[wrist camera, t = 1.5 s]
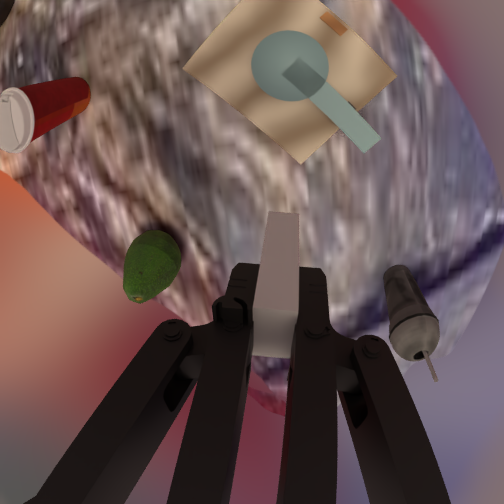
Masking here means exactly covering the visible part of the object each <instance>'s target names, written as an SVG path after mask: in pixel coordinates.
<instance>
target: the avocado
mask: <svg viewBox="0 0 504 504" xmlns="http://www.w3.org/2000/svg"><path fill="white" fill-rule="evenodd" d="M180 267H181V253H180V250H179V247H178V245H177V243H176V242H175V241H174V239H173V238H172V237H171V236H170V235H169V234H168V233H165V232H163V231H160V230H148V231H146V232H145V233H143V234H142V235H140V236H138V237H137V238H136V239H135V240H134V241H133V242H132V244H131V245H130V247H129V249H128V251H127V254H126V257H125V263H124V277H123V289H124V291H125V293H126V294H127V296H128V298H129V300H131V301H133V302H137V303H143V302H146V301H147V300H149V299H151V298H153V297H155V296H156V295H157V294H159V293H160V292H162V291H163V290H164V289H166V288H167V287H169V286H170V284H171V283H172V281H173V280H174V278H175V277H176V275H177V273H178V271H179V269H180Z"/></svg>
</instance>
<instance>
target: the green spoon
mask: <svg viewBox="0 0 504 504" xmlns="http://www.w3.org/2000/svg"><path fill="white" fill-rule="evenodd" d="M251 69H252V74H253V77H254V79H255V81H256V83H257V84H258V85H259V87H260V88H261V89H262V90H263V91H264V92H266V93H267V94H268V95H270V96H272V97H274V98H276V99H279V100H283V101H300V100H304V99H307V98H309V99H310V100H311V101H312V102H313V103H314V104H315V105H316V106H317V107H318V108H319V109H320V110H321V111H323V112H324V113H325V114H326V115H327V116H328V117H329V118H330V119H331V120H332V121H333V122H334V123H335V124H336V125H337V126H338V127H339V128H340V129H341V130H342V131H343V132H344V133H345V134H346V135H347V136H348V137H349V138H350V139H351V140H352V141H353V142H354V144H355V145H356V146H357V147H358V148H359V149H360V150H361V151H362V152H363V153H365V152H366V151H368V150H369V149H370V148H371V147H372V146H373V145H374V144H375V143H377V142H378V141H379V140H380V139H381V138H380V136H379V135H378V134H377V133H376V132H375V131H374V130H373V129H372V127H371V126H370V125H369V124H368V123H367V122H366V121H365V120H364V119H363V118H362V117H361V115H360V114H359V113H358V112H357V111H356V110H355V109H354V108H353V107H352V106H351V105H350V104H349V103H348V102H347V101H346V100H345V99H344V98H343V97H342V96H341V95H340V94H339V93H338V92H337V91H336V90H335V89H334V88H333V87H332V86H331V85H330V84H329V83H328V82H326V79H327V76H328V72H329V63H328V58H327V55H326V53H325V51H324V49H323V48H322V46H321V45H320V44H319V43H318V42H317V41H316V40H315V39H313V38H312V37H310V36H309V35H307V34H304V33H302V32H298V31H291V30H286V31H279V32H276V33H273V34H271V35H269V36H267V37H266V38H264V39H263V40H262V41H261V42H260V43H259V44H258V45H257V47H256V49H255V50H254V53H253V56H252V60H251Z"/></svg>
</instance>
